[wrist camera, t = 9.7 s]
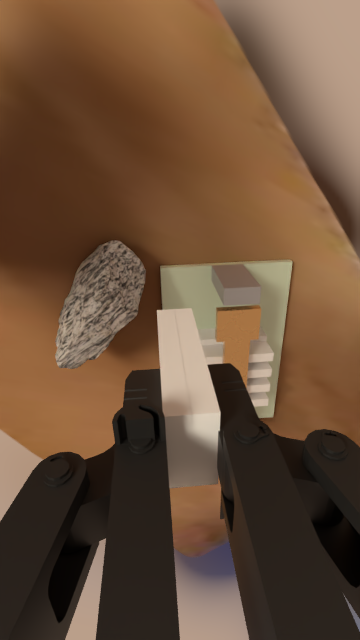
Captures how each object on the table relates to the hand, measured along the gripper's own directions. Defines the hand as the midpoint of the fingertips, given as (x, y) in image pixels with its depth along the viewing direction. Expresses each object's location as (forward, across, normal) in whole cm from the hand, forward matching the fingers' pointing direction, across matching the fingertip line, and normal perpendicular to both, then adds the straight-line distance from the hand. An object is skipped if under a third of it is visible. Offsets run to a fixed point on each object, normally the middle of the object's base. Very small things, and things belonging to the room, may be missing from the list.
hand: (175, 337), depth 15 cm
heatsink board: (+29, +8, -19) cm, 36 cm away
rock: (+30, -8, -9) cm, 32 cm away
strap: (+22, +9, -19) cm, 31 cm away
